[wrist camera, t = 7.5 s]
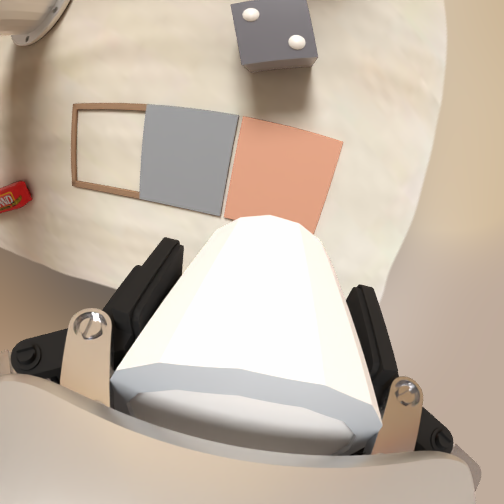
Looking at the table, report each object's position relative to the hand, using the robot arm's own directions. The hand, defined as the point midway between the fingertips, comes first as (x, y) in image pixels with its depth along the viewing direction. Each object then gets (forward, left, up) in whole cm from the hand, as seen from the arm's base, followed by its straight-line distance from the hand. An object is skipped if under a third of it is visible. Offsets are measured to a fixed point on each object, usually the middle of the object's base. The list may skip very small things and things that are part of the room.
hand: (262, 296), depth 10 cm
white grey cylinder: (0, 0, -1) cm, 1 cm away
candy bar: (+9, -39, -16) cm, 43 cm away
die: (-12, -3, -16) cm, 20 cm away
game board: (0, -9, -16) cm, 18 cm away
